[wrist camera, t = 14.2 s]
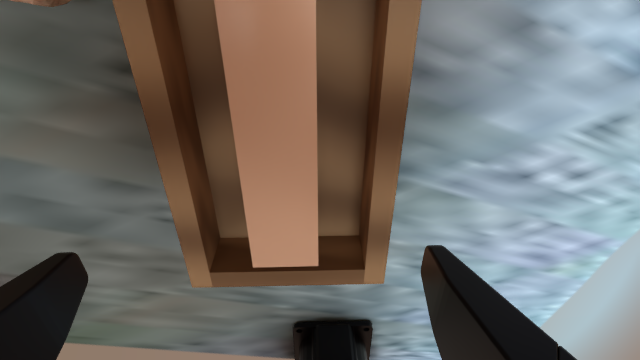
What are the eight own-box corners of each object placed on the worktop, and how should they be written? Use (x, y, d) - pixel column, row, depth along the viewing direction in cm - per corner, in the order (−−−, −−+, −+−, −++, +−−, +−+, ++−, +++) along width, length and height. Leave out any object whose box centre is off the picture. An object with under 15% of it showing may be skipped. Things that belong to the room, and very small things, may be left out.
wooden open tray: (373, 238, 25) (383, 283, 22) (208, 241, 25) (192, 287, 21) (412, -143, 14) (444, -173, 11) (122, -144, 14) (63, -175, 11)
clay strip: (317, 219, 23) (318, 266, 19) (261, 220, 23) (252, 267, 19) (313, -71, 15) (314, -78, 11) (227, -71, 15) (202, -77, 11)
